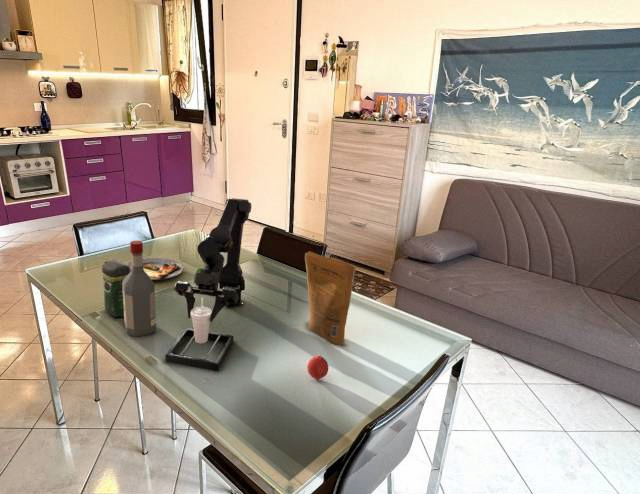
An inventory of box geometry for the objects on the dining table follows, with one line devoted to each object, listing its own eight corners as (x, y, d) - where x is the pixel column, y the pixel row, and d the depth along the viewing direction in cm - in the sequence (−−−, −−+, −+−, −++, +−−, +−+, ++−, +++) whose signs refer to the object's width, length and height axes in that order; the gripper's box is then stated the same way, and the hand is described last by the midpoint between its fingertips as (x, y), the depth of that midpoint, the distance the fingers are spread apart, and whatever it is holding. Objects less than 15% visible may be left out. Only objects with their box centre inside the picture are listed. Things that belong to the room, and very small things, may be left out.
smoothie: (215, 337, 133) (216, 295, 128) (206, 347, 127) (206, 304, 122) (196, 332, 135) (196, 291, 130) (186, 342, 129) (186, 300, 124)
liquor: (128, 338, 137) (122, 248, 127) (124, 324, 145) (118, 239, 135) (157, 333, 141) (154, 245, 130) (151, 320, 149) (148, 236, 138)
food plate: (194, 271, 191) (194, 264, 190) (156, 288, 172) (156, 280, 171) (152, 258, 203) (152, 251, 202) (113, 273, 185) (112, 265, 183)
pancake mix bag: (337, 351, 137) (348, 268, 127) (296, 325, 151) (303, 248, 141) (352, 344, 141) (363, 263, 131) (310, 320, 155) (318, 245, 145)
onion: (304, 372, 125) (307, 348, 122) (324, 372, 126) (327, 348, 123) (308, 385, 120) (311, 360, 117) (329, 385, 120) (332, 360, 117)
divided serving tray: (185, 334, 141) (185, 327, 140) (233, 342, 138) (233, 335, 137) (165, 361, 127) (165, 354, 126) (218, 371, 124) (218, 363, 123)
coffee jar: (136, 313, 153) (133, 263, 147) (115, 320, 148) (111, 269, 141) (121, 303, 159) (118, 255, 153) (101, 310, 154) (97, 261, 147)
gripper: (175, 256, 128) (161, 306, 122) (237, 264, 124) (225, 316, 118) (185, 270, 138) (172, 318, 132) (243, 278, 134) (232, 327, 128)
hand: (199, 319), depth 127 cm, fingers closed on smoothie, 6 cm apart
